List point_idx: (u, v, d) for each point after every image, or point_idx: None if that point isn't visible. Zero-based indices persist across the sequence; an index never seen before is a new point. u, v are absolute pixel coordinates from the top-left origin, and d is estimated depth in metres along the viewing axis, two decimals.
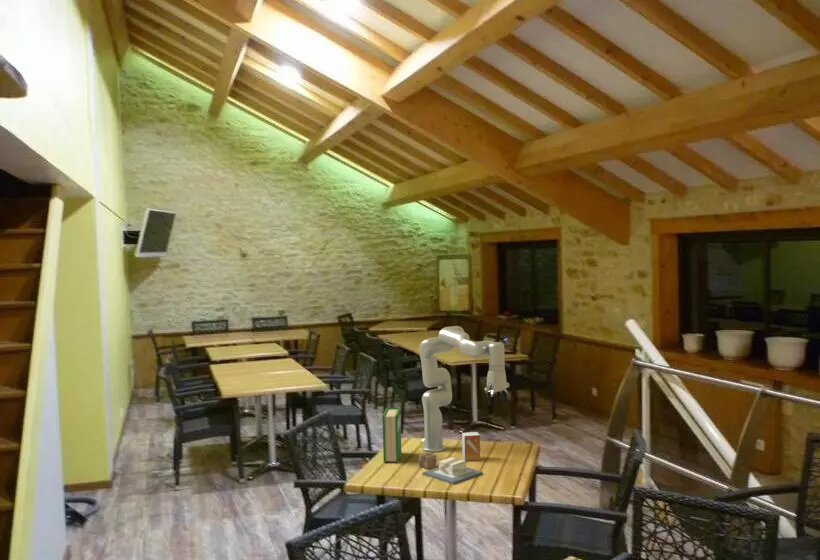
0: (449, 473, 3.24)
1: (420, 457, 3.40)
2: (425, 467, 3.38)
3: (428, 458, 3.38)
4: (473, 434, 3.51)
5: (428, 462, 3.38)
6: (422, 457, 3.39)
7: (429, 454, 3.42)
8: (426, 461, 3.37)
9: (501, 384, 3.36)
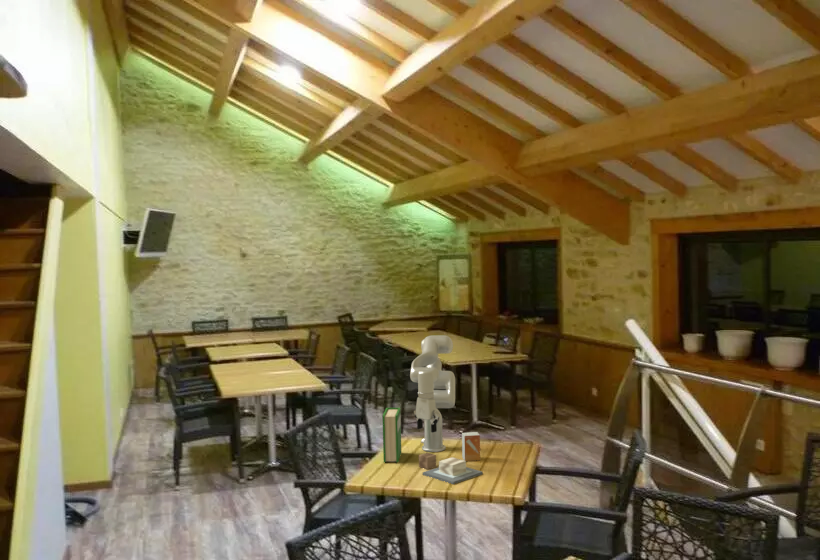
0: (449, 473, 3.24)
1: (420, 457, 3.40)
2: (425, 467, 3.38)
3: (428, 458, 3.38)
4: (473, 434, 3.51)
5: (428, 462, 3.38)
6: (422, 457, 3.39)
7: (429, 454, 3.42)
8: (426, 461, 3.37)
9: None
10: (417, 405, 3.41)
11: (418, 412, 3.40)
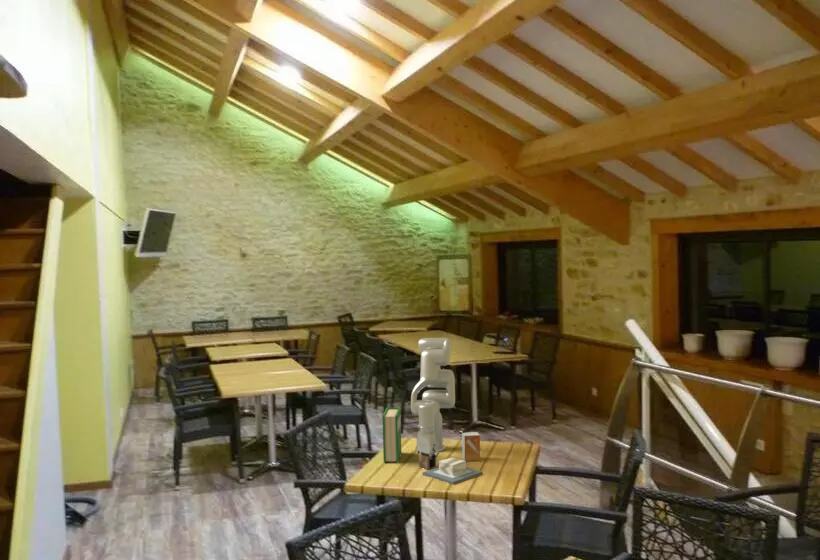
0: (449, 473, 3.24)
1: (420, 457, 3.40)
2: (425, 467, 3.38)
3: (428, 458, 3.38)
4: (473, 434, 3.51)
5: (428, 462, 3.38)
6: (422, 457, 3.39)
7: None
8: (426, 461, 3.37)
9: None
10: (418, 439, 3.42)
11: (419, 446, 3.41)
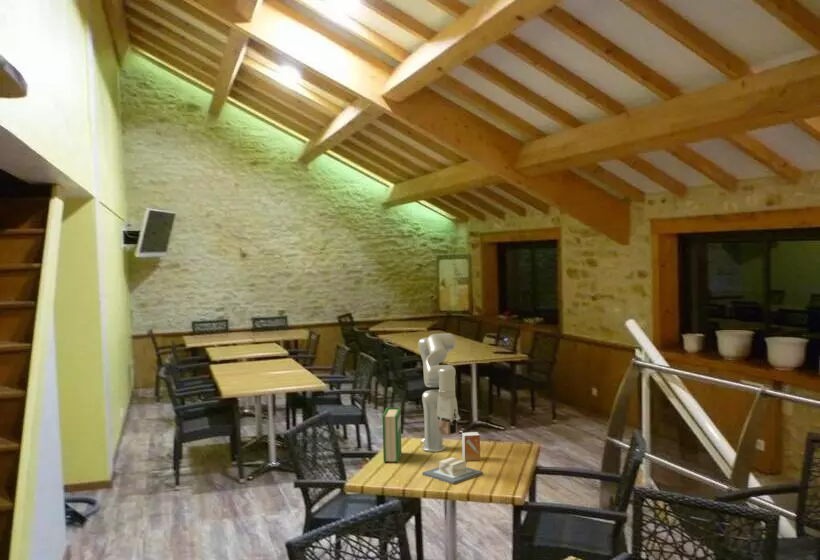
0: (449, 473, 3.24)
1: (440, 423, 3.29)
2: (446, 433, 3.26)
3: (449, 423, 3.26)
4: (473, 434, 3.51)
5: (449, 427, 3.26)
6: (443, 423, 3.28)
7: None
8: (447, 426, 3.26)
9: None
10: (438, 404, 3.30)
11: (439, 411, 3.29)
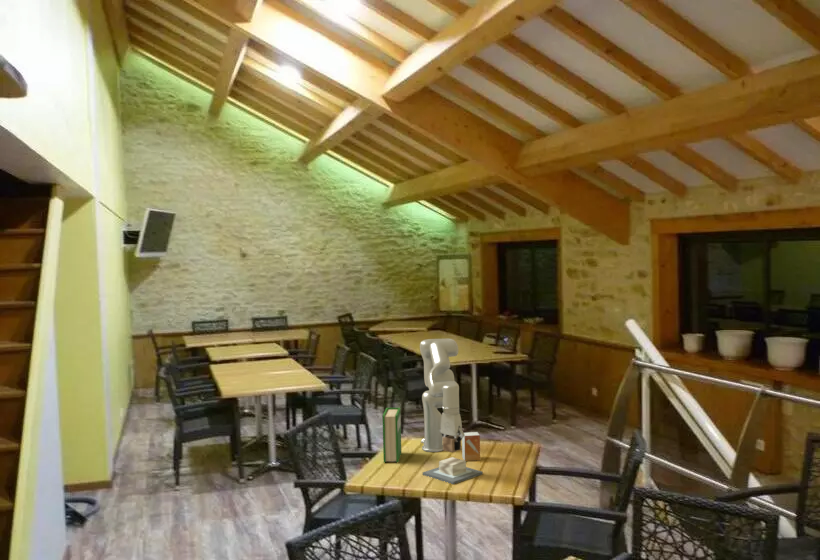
0: (449, 473, 3.24)
1: (444, 439, 3.27)
2: (450, 450, 3.25)
3: (453, 440, 3.24)
4: (473, 434, 3.51)
5: (453, 444, 3.24)
6: (447, 440, 3.26)
7: (453, 436, 3.29)
8: (451, 443, 3.24)
9: None
10: (442, 420, 3.29)
11: (443, 428, 3.28)
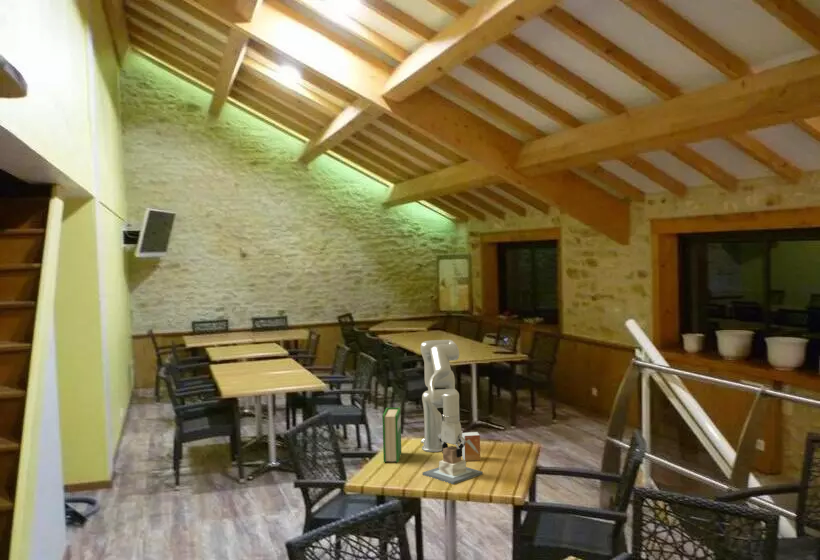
0: (449, 473, 3.24)
1: (444, 450, 3.28)
2: (450, 461, 3.25)
3: (453, 451, 3.25)
4: (473, 434, 3.51)
5: (453, 456, 3.25)
6: (447, 451, 3.27)
7: (454, 447, 3.29)
8: (451, 455, 3.25)
9: None
10: (442, 428, 3.29)
11: (443, 436, 3.28)
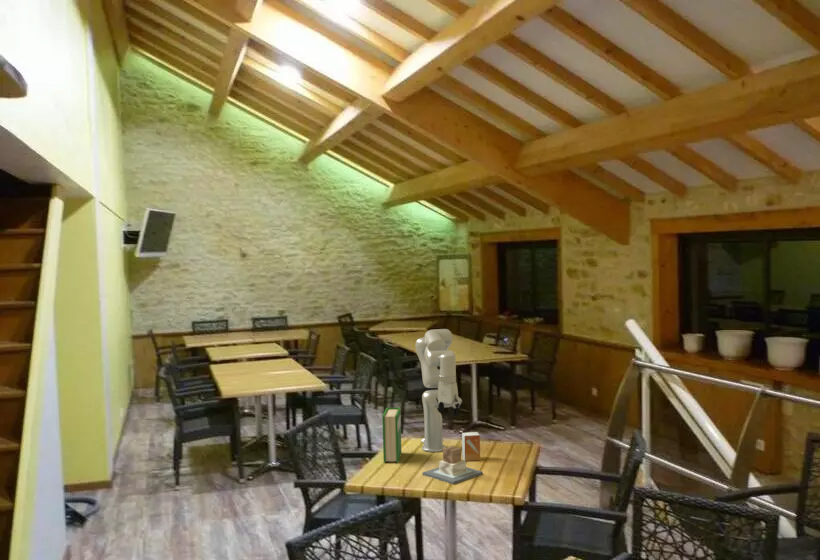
0: (449, 473, 3.24)
1: (444, 450, 3.28)
2: (450, 461, 3.25)
3: (453, 451, 3.25)
4: (473, 434, 3.51)
5: (453, 456, 3.25)
6: (447, 451, 3.27)
7: (454, 447, 3.29)
8: (451, 455, 3.25)
9: None
10: (439, 389, 3.37)
11: (440, 396, 3.37)
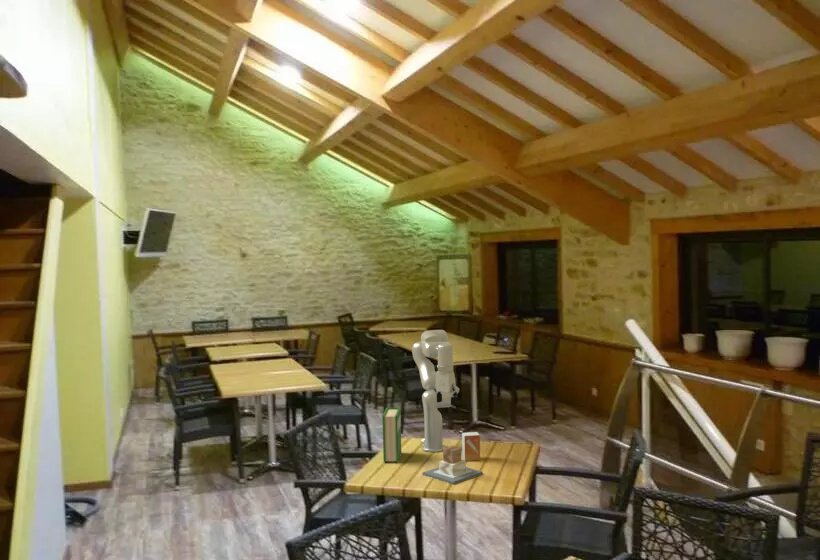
0: (449, 473, 3.24)
1: (444, 450, 3.28)
2: (450, 461, 3.25)
3: (453, 451, 3.25)
4: (473, 434, 3.51)
5: (453, 456, 3.25)
6: (447, 451, 3.27)
7: (454, 447, 3.29)
8: (451, 455, 3.25)
9: None
10: (437, 378, 3.44)
11: (438, 385, 3.44)
